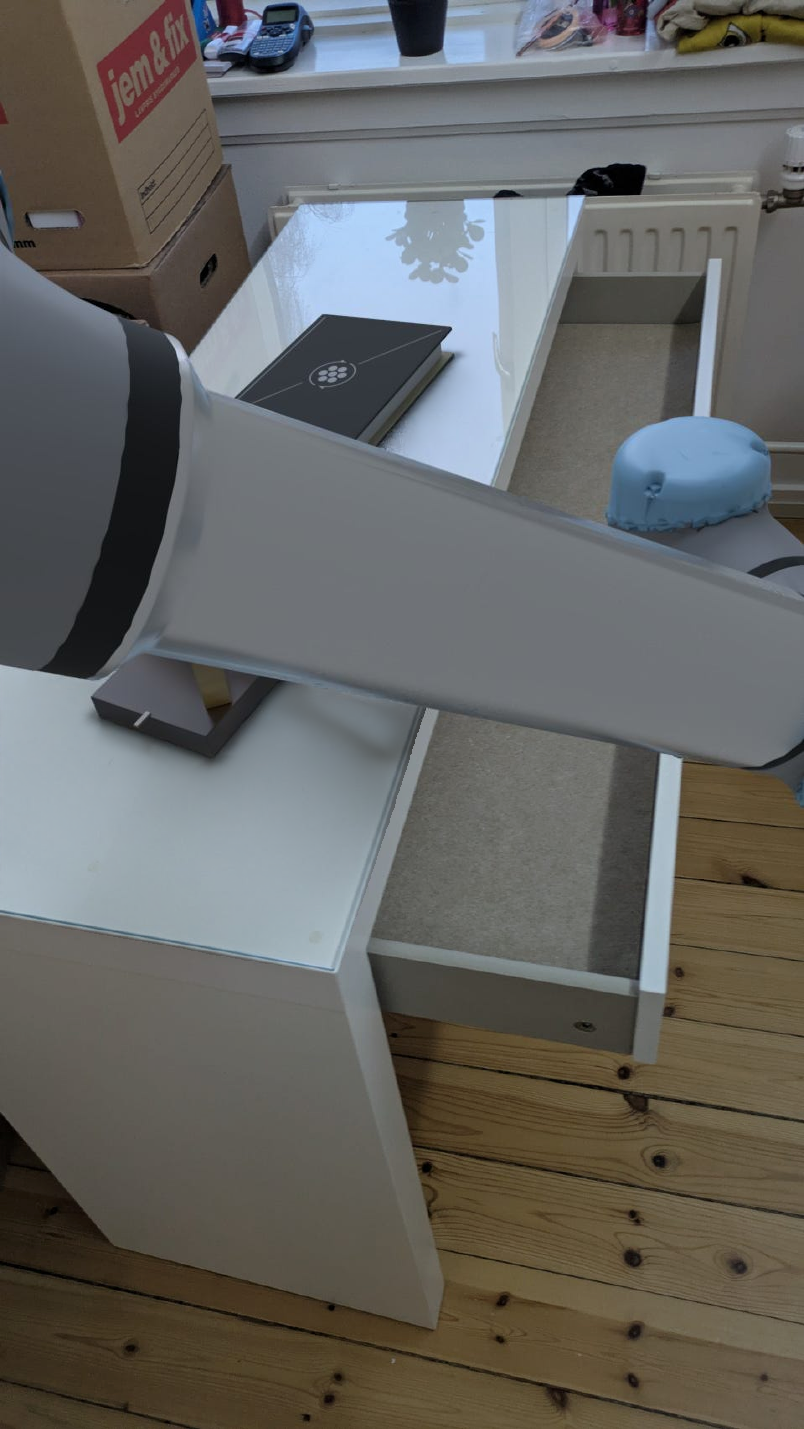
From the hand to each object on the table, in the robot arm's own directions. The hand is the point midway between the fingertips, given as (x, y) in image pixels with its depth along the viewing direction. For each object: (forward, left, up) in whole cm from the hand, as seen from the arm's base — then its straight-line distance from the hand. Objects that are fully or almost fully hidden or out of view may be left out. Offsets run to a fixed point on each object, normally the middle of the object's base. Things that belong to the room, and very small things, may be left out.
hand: (206, 562), depth 76 cm
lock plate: (-2, -3, -7) cm, 8 cm away
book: (+16, +31, -7) cm, 36 cm away
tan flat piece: (-2, -3, -5) cm, 6 cm away
